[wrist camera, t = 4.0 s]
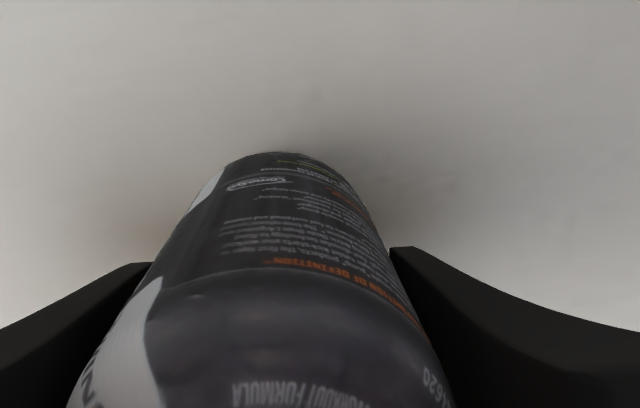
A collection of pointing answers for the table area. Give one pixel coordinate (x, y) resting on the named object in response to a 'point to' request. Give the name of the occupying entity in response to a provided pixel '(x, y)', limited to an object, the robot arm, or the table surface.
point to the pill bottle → (268, 305)
